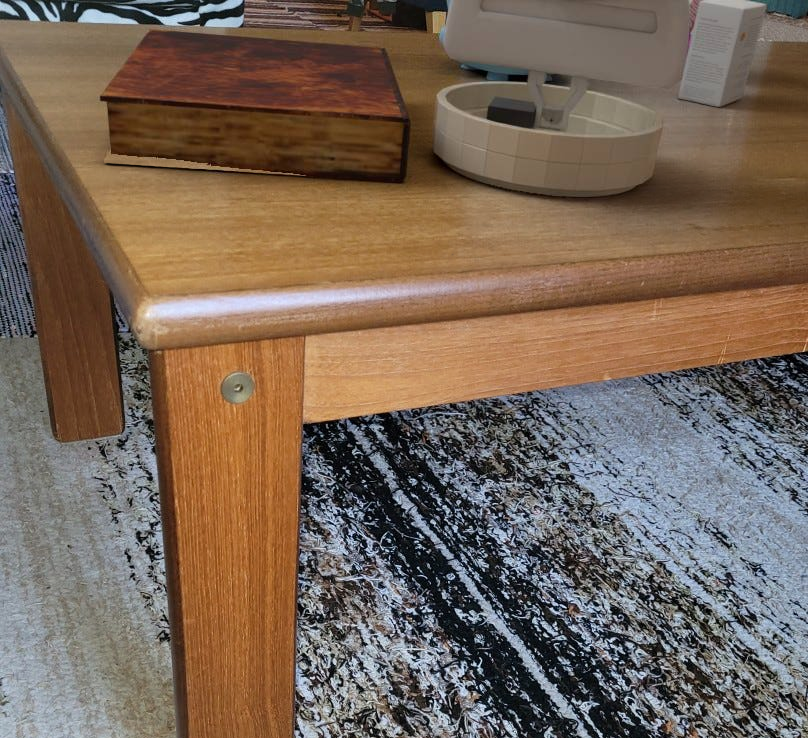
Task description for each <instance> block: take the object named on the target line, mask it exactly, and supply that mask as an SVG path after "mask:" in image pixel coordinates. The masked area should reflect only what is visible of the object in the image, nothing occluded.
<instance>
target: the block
mask: <svg viewBox="0 0 808 738" xmlns="http://www.w3.org/2000/svg"><path fill="white" fill-rule="evenodd" d="M536 108H537V107H536V106H535V104H534V102H529V101H522V100H515V99H508V98H501V97H495V98H494V99H493V100H492V102H491V103H490V104H489V106H488V110H487V118H486V119H487V120H490V121H494V122H498V123H502V124H507V125H512V126H517V127H522V128H528V129H535V128H534V121H535V115H536Z"/></svg>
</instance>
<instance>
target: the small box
mask: <svg viewBox="0 0 808 738" xmlns="http://www.w3.org/2000/svg"><path fill="white" fill-rule="evenodd" d="M767 6H768V4H767V3H763V2H757V1H751V0H748V1H746V0H704V1H700V2H699V5H698V10H697V14H696V19H695V23H694V27H693V32H692V36H691V41H690V46H689V50H688V54H687V59H686V63H685V67H684V72H683V76H682V79H681V80H680V85H679V90H678V93H677V99H678V100H683V101H688V102H692V103H696V104H701V105H706V106H711V107H716V108H722V107H723V106H727V105H729V104H731V103H734V102H736V101H738V100H741V99H742V98H743V96H744V93H745V88H746V85H747V81H748V77H749V74H750V70H751V67H752V63H753V59H754V56H755V53H756V48H757V45H758V42H759V41H758V40H759V37H760V32H761V29H762V25H763V22H764V18H765V14H766V10H767Z"/></svg>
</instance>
